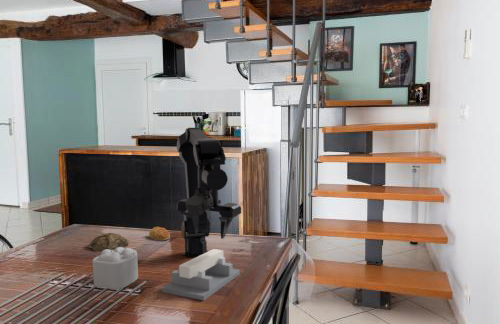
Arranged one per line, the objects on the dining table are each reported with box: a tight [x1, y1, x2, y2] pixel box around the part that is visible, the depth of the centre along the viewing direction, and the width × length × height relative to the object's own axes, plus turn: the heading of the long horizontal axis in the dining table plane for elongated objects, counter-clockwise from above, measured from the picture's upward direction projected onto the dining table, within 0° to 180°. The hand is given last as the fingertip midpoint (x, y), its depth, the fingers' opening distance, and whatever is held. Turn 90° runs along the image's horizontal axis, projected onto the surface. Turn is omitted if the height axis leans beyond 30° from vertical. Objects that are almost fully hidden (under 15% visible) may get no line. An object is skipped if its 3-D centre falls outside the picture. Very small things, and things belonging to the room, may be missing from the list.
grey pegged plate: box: [161, 256, 241, 302], centre depth 121 cm, size 20×13×6 cm, turn 154°
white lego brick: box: [92, 247, 139, 290], centre depth 123 cm, size 10×13×9 cm
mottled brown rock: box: [88, 232, 129, 252], centre depth 155 cm, size 13×12×5 cm
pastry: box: [148, 226, 171, 241], centre depth 165 cm, size 9×7×4 cm
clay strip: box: [178, 248, 225, 279], centre depth 120 cm, size 16×3×3 cm, turn 150°
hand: (208, 236), depth 126 cm, fingers open, 9 cm apart
